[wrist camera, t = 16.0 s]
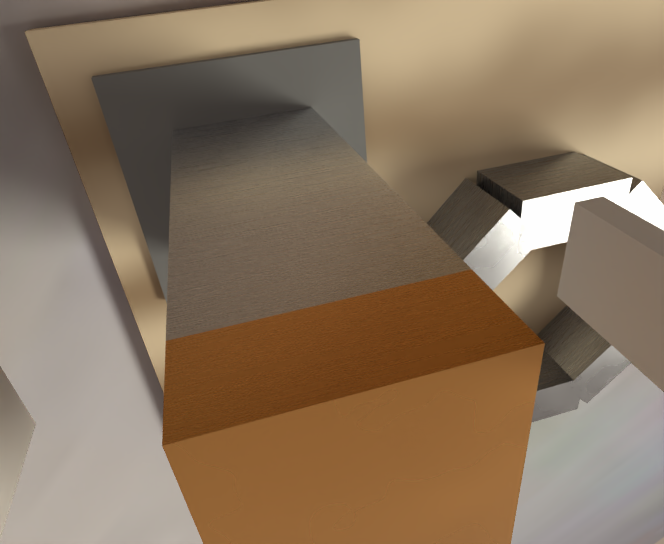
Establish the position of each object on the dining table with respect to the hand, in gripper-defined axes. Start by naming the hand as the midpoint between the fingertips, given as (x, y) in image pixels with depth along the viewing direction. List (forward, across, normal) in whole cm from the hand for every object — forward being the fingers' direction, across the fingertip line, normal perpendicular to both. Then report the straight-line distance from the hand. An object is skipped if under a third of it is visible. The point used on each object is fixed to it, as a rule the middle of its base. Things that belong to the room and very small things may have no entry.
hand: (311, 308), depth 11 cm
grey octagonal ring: (+10, +12, -8) cm, 17 cm away
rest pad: (+10, 0, -1) cm, 10 cm away
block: (+9, 0, -1) cm, 9 cm away
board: (+10, +7, -6) cm, 14 cm away
